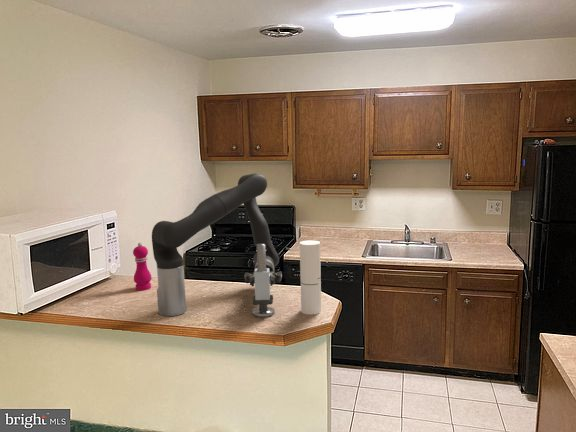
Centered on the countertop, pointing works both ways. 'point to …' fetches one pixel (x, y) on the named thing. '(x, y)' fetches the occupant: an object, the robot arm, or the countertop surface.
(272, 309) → the pipe stand
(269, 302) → the ring
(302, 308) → the cylindrical container
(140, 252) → the pepper mill
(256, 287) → the sleeve
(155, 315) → the countertop surface
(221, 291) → the countertop surface
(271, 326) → the countertop surface
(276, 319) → the countertop surface
